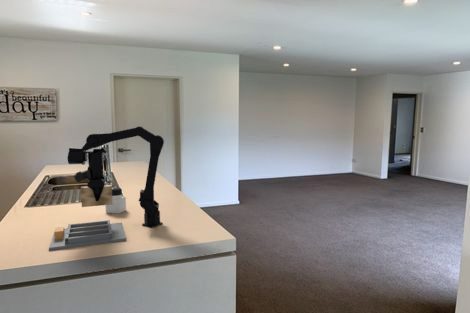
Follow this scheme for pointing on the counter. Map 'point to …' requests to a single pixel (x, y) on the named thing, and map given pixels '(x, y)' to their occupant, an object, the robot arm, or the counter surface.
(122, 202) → the medicine bottle
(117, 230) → the slotted rack
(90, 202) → the oak divider
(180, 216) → the counter surface
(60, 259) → the counter surface
